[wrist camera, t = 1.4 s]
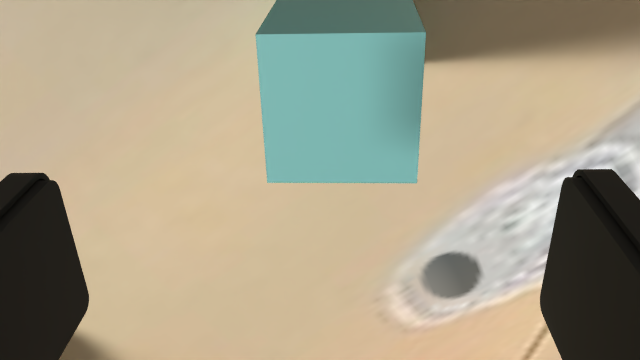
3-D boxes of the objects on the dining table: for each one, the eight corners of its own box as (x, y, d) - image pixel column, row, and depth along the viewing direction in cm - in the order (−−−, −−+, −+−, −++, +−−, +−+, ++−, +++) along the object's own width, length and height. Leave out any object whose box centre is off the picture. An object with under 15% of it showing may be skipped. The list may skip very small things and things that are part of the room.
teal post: (398, -35, 26) (426, 32, 15) (394, 65, 28) (416, 182, 18) (296, -33, 26) (255, 34, 16) (300, 66, 28) (267, 182, 18)
